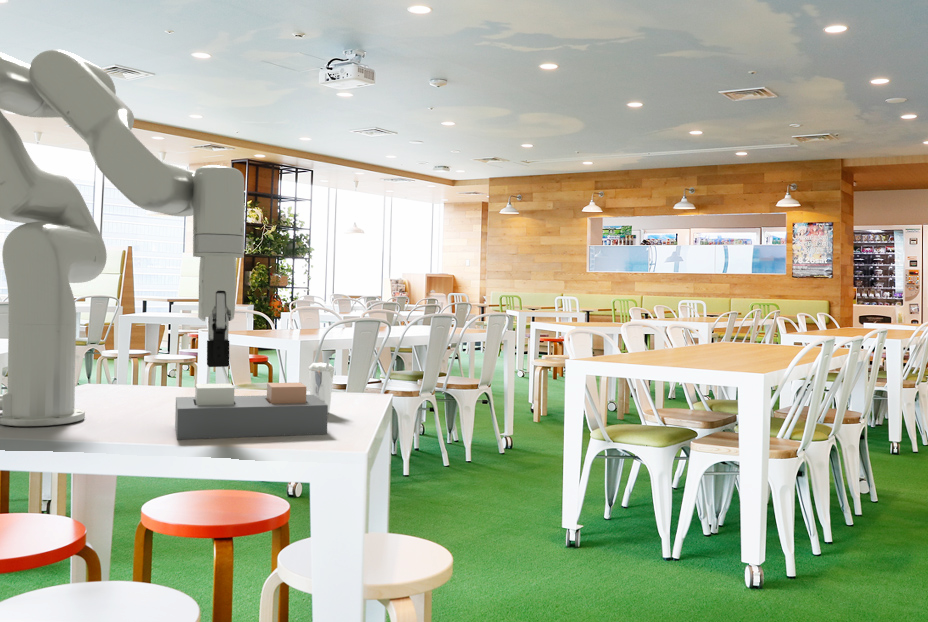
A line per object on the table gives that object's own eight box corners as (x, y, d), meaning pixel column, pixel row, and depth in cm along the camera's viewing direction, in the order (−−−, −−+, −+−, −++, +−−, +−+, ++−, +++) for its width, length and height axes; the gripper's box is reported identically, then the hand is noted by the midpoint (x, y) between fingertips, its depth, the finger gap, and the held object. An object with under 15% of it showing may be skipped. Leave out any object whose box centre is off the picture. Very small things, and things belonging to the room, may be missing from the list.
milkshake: (315, 416, 140) (316, 359, 139) (303, 411, 144) (305, 356, 144) (338, 414, 142) (340, 359, 142) (326, 410, 146) (328, 356, 146)
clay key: (271, 412, 123) (271, 387, 123) (266, 407, 128) (267, 383, 128) (305, 411, 125) (306, 386, 125) (300, 406, 130) (300, 382, 130)
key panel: (177, 439, 115) (177, 408, 115) (175, 425, 126) (175, 397, 126) (327, 433, 123) (327, 405, 123) (312, 420, 134) (313, 394, 134)
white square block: (196, 414, 119) (197, 388, 119) (195, 409, 124) (195, 383, 124) (233, 413, 121) (234, 387, 121) (230, 408, 126) (231, 383, 126)
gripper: (190, 249, 128) (190, 362, 128) (195, 244, 114) (194, 371, 114) (239, 250, 130) (238, 361, 131) (249, 246, 116) (248, 370, 117)
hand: (218, 366), depth 123 cm, fingers closed
